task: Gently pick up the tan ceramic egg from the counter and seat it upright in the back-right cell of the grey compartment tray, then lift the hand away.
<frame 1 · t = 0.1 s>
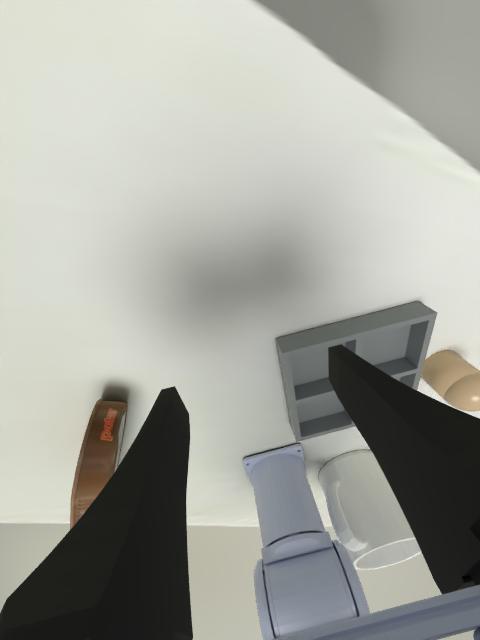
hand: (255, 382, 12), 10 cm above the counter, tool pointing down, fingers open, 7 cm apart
grey compartment tray: (345, 371, 27), on the counter
tin: (114, 430, 27), on the counter
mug: (342, 465, 38), on the counter
egg: (437, 365, 29), on the counter
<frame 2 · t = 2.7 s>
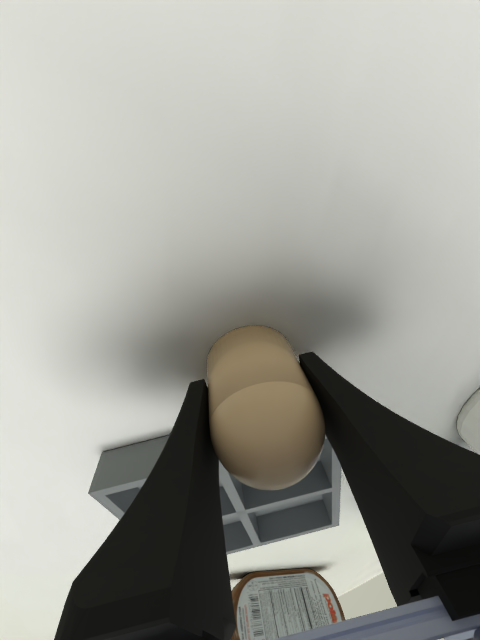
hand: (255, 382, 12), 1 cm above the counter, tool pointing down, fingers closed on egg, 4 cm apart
grey compartment tray: (237, 478, 19), on the counter
tin: (277, 569, 33), on the counter
egg: (250, 361, 13), on the counter, touching gripper
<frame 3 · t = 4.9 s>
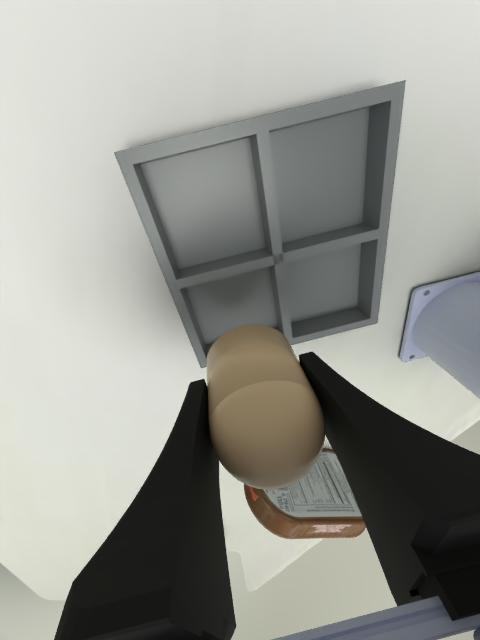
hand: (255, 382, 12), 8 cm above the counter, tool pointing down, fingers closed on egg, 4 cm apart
grey compartment tray: (269, 249, 17), on the counter
tin: (297, 449, 31), on the counter
egg: (249, 360, 13), point 7 cm above the counter, touching gripper
when the fingers open (3 cm above the counter, at t = 7.1 s): egg drops 1 cm, resting on grey compartment tray.
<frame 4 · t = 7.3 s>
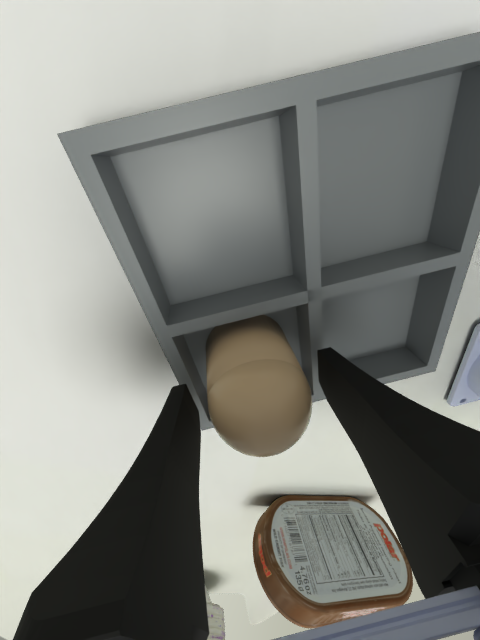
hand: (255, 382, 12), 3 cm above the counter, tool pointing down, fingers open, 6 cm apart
grey compartment tray: (297, 275, 12), on the counter
paper bowls: (167, 585, 35), on the counter
tin: (314, 496, 27), on the counter
egg: (245, 347, 14), resting on grey compartment tray
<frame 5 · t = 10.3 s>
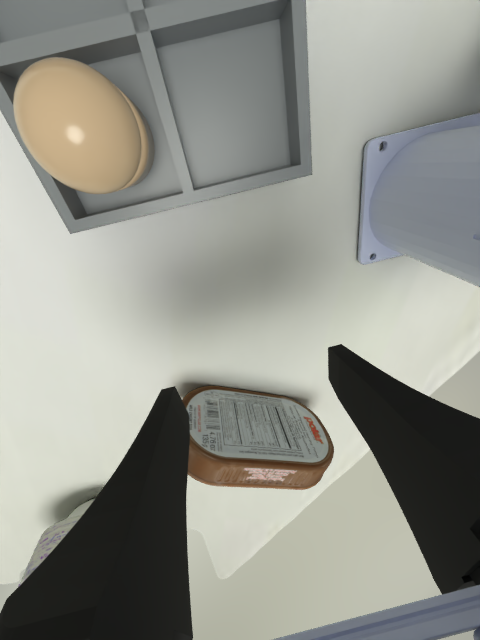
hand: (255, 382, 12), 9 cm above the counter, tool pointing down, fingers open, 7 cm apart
grey compartment tray: (149, 44, 12), on the counter
paper bowls: (115, 509, 35), on the counter
tin: (247, 394, 26), on the counter
egg: (111, 141, 13), resting on grey compartment tray
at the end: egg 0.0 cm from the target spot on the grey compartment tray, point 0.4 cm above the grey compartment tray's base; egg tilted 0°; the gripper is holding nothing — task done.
